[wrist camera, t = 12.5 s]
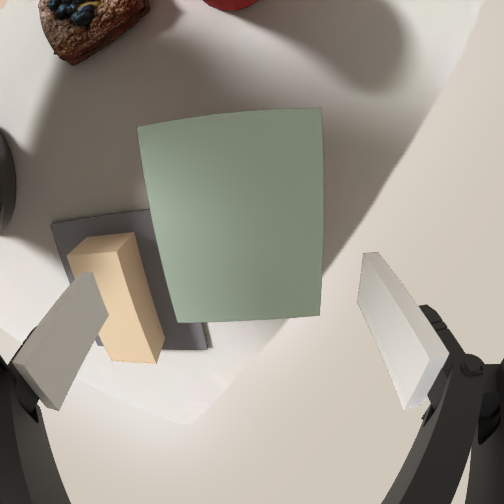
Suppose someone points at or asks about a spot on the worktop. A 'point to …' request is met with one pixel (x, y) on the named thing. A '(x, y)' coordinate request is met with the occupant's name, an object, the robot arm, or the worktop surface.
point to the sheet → (238, 212)
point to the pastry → (87, 24)
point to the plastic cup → (230, 4)
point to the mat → (150, 262)
